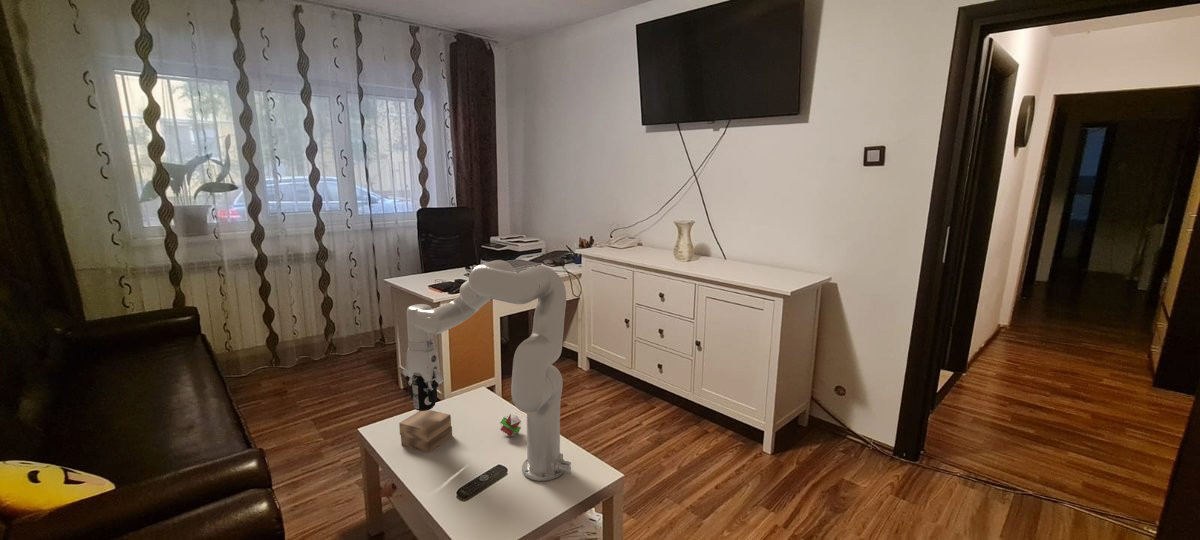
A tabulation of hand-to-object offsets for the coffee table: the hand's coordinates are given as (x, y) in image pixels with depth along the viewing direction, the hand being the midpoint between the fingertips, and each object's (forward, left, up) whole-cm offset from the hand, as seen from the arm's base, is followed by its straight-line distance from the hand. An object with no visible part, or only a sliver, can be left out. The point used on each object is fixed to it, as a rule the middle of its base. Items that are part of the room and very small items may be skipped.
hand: (424, 397), depth 161 cm
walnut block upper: (0, 0, -11) cm, 11 cm away
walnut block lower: (0, 0, -15) cm, 15 cm away
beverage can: (0, 0, -3) cm, 3 cm away
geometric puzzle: (-23, -14, -15) cm, 31 cm away
